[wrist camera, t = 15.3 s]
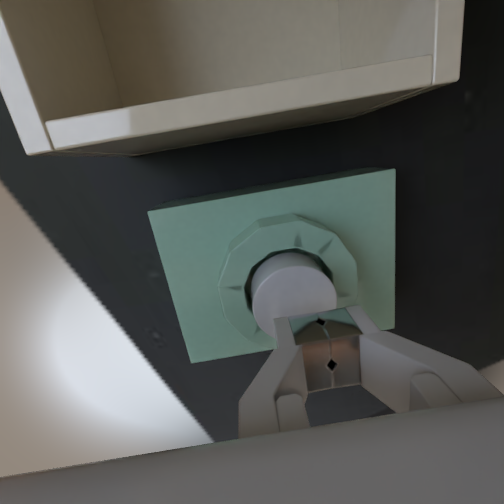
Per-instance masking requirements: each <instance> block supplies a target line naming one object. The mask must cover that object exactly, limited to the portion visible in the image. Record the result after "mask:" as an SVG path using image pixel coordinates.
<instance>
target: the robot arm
mask: <svg viewBox="0 0 504 504" xmlns="http://www.w3.org/2000/svg"><path fill="white" fill-rule="evenodd" d="M273 325H274V331H275V337H276V343H277V349H274V350H273V352H272V353H271V355H270V356H269V358H268V359H267V361H266V362H265V364H264V365H263V367H262V368H261V369H260V371H259V372H258V374H257V375H256V377H255V378H254V380H253V381H252V383H251V384H250V386H249V387H248V389H247V390H246V392H245V393H244V395H243V396H242V397H241V399H240V400H239V439H235V440H229V441H222V442H216V443H210V444H204V445H197V446H191V447H185V448H179V449H172V450H166V451H160V452H154V453H148V454H142V455H135V456H129V457H123V458H116V459H110V460H104V461H98V462H91V463H85V464H79V465H73V466H66V467H60V468H54V469H48V470H42V471H36V472H29V473H23V474H17V475H10V476H4V477H0V504H504V395H503V394H502V393H501V392H500V391H499V390H498V389H497V388H495V387H494V386H493V385H492V384H491V383H490V382H489V381H488V380H487V379H486V378H485V377H483V376H482V375H481V374H480V373H479V372H478V371H477V370H476V369H475V368H473V367H472V366H471V365H470V364H468V363H465V362H463V361H460V360H458V359H455V358H453V357H450V356H448V355H445V354H443V353H440V352H438V351H435V350H433V349H430V348H428V347H425V346H423V345H420V344H418V343H415V342H413V341H410V340H408V339H405V338H403V337H400V336H398V335H395V334H393V333H391V332H388V331H381V330H380V329H379V328H378V326H377V325H376V324H375V323H374V322H373V320H372V319H371V318H370V317H369V316H368V314H367V313H366V312H365V311H364V309H363V308H362V307H361V306H360V305H358V304H357V305H352V306H347V307H343V308H338V309H333V310H327V311H322V312H317V313H316V312H314V313H307V314H300V315H294V316H286V317H280V318H275V319H273ZM353 385H361V386H362V387H364V388H365V389H366V390H368V391H369V392H370V393H371V394H373V395H374V396H375V397H377V398H378V399H379V400H381V401H382V402H383V403H385V404H386V405H387V406H388V407H390V408H391V409H392V410H394V411H395V412H396V414H390V415H384V416H378V417H371V418H365V419H359V420H353V421H346V422H340V423H334V424H328V425H322V426H316V427H310V424H309V420H308V417H307V413H306V409H305V406H304V405H305V402H306V399H307V396H308V393H311V392H316V391H321V390H326V389H332V388H338V387H346V386H353Z"/></svg>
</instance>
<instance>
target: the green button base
mask: <svg viewBox="0 0 504 504" xmlns="http://www.w3.org/2000/svg"><path fill="white" fill-rule="evenodd" d="M395 182H396V170H395V169H391V168H374V167H362V168H357V169H351V170H345V171H339V172H334V173H328V174H322V175H316V176H311V177H305V178H299V179H293V180H287V181H282V182H276V183H270V184H264V185H259V186H253V187H247V188H241V189H236V190H230V191H224V192H218V193H212V194H207V195H201V196H195V197H189V198H184V199H178V200H172V201H166V202H163V203H162V204H160V205H158V206H157V207H155V208H153V209H151V210H150V211H148V216H149V219H150V223H151V226H152V230H153V233H154V237H155V240H156V244H157V247H158V250H159V254H160V257H161V261H162V264H163V268H164V271H165V275H166V278H167V282H168V285H169V288H170V292H171V295H172V299H173V302H174V306H175V309H176V313H177V316H178V320H179V323H180V326H181V330H182V333H183V337H184V340H185V344H186V347H187V351H188V354H189V358H190V361H191V363H196V362H202V361H208V360H214V359H220V358H225V357H231V356H237V355H243V354H249V353H254V352H260V351H266V350H272V349H277V343H276V339H275V338H273V337H271V336H269V335H268V334H266V333H265V332H264V331H263V330H262V329H261V328H260V327H259V326H258V324H257V322H256V320H255V318H254V315H253V308H252V299H251V282H252V278H253V276H254V274H255V272H256V271H257V269H258V268H259V267H260V265H261V264H263V263H264V262H265V261H266V260H268V259H269V258H271V257H273V256H276V255H278V254H282V253H299V254H303V255H305V256H308V257H309V258H311V259H313V260H314V261H315V262H316V263H317V264H318V265H319V266H320V267H321V269H322V270H323V271H324V273H325V274H326V275H327V276H328V278H329V279H330V280H331V282H332V283H333V285H334V287H335V290H336V293H337V308H336V309H338V308H343V307H347V306H352V305H357V304H358V305H360V306H361V307H362V308H363V309H364V311H365V312H366V313H367V314H368V316H369V317H370V318H371V319H372V320H373V322H374V323H375V324H376V325H377V326H378V328H379V329H380V330H381V331H382V330H388V329H393V328H395Z"/></svg>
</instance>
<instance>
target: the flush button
mask: <svg viewBox="0 0 504 504" xmlns="http://www.w3.org/2000/svg"><path fill="white" fill-rule="evenodd" d="M251 299H252V308H253V315H254V318H255V320H256V322H257V324H258V326H259V327H260V328H261V329H262V330H263V331H264V332H265V333H266V334H268V335H269V336H271V337H273V338H275V339H276V337H275V331H274V325H273V319H275V318H280V317H286V316H294V315H300V314H307V313H314V312H316V313H317V312H322V311H327V310H333V309H336V308H337V293H336V290H335V287H334V285H333V283H332V282H331V280H330V279H329V278H328V276H327V275H326V274H325V273H324V271H323V270H322V269H321V267H320V266H319V265H318V264H317V263H316V262H315V261H314V260H313V259H311V258H309V257H308V256H305V255H303V254H299V253H282V254H278V255H276V256H273V257H271V258H269V259H268V260H266V261H265V262H264V263H263V264H261V265H260V267H259V268H258V269H257V271H256V272H255V274H254V276H253V278H252V282H251Z"/></svg>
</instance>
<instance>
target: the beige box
mask: <svg viewBox="0 0 504 504" xmlns="http://www.w3.org/2000/svg"><path fill="white" fill-rule="evenodd" d="M464 6H465V0H0V90H1V93H2V95H3V98H4V100H5V103H6V105H7V108H8V110H9V113H10V115H11V117H12V120H13V122H14V125H15V127H16V130H17V132H18V135H19V137H20V140H21V142H22V145H23V147H24V150H25V152H26V154H27V155H29V156H85V157H132V156H138V155H144V154H150V153H155V152H161V151H167V150H173V149H178V148H184V147H190V146H196V145H201V144H207V143H213V142H219V141H225V140H230V139H236V138H242V137H248V136H253V135H259V134H265V133H271V132H276V131H282V130H288V129H294V128H299V127H305V126H311V125H317V124H323V123H328V122H334V121H340V120H346V119H351V118H354V117H357V116H360V115H363V114H366V113H368V112H371V111H374V110H377V109H380V108H383V107H385V106H388V105H391V104H394V103H397V102H400V101H402V100H405V99H408V98H411V97H414V96H417V95H419V94H422V93H425V92H428V91H431V90H434V89H436V88H439V87H442V86H445V85H448V84H451V83H453V82H456V81H458V80H459V77H460V63H461V48H462V34H463V20H464Z"/></svg>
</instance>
